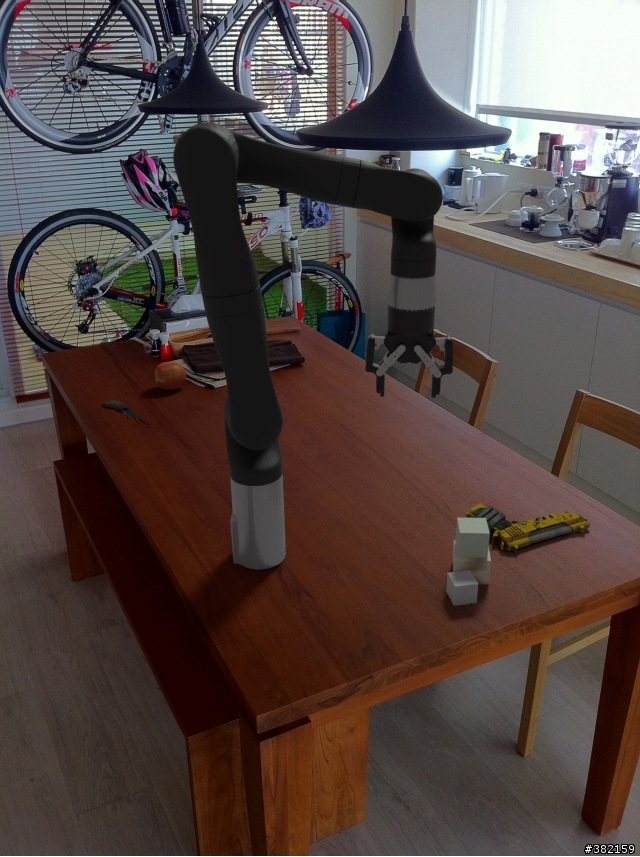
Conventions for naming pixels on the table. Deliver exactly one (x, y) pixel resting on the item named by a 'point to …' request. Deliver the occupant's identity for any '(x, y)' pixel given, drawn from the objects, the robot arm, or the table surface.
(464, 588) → the grey block
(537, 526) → the toy gun
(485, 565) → the maple block
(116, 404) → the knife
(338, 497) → the table surface
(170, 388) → the apple
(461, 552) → the green cube
